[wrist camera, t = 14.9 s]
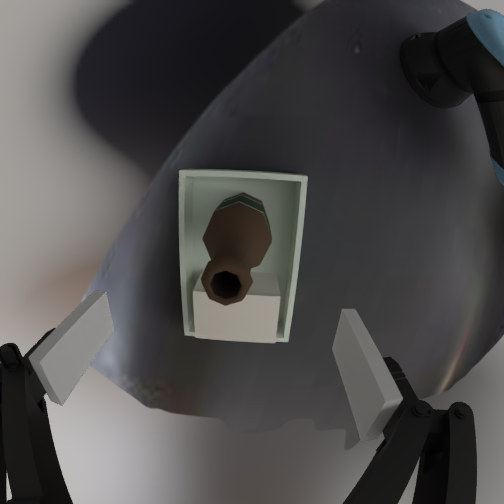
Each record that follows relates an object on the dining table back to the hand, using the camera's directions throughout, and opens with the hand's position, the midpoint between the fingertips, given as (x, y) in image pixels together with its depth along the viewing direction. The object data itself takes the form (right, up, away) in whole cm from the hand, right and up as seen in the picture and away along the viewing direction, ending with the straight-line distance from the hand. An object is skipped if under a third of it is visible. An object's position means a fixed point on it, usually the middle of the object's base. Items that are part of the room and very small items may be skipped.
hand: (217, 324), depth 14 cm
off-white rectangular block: (0, -3, +32) cm, 32 cm away
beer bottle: (0, +9, +28) cm, 29 cm away
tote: (0, +4, +30) cm, 31 cm away
